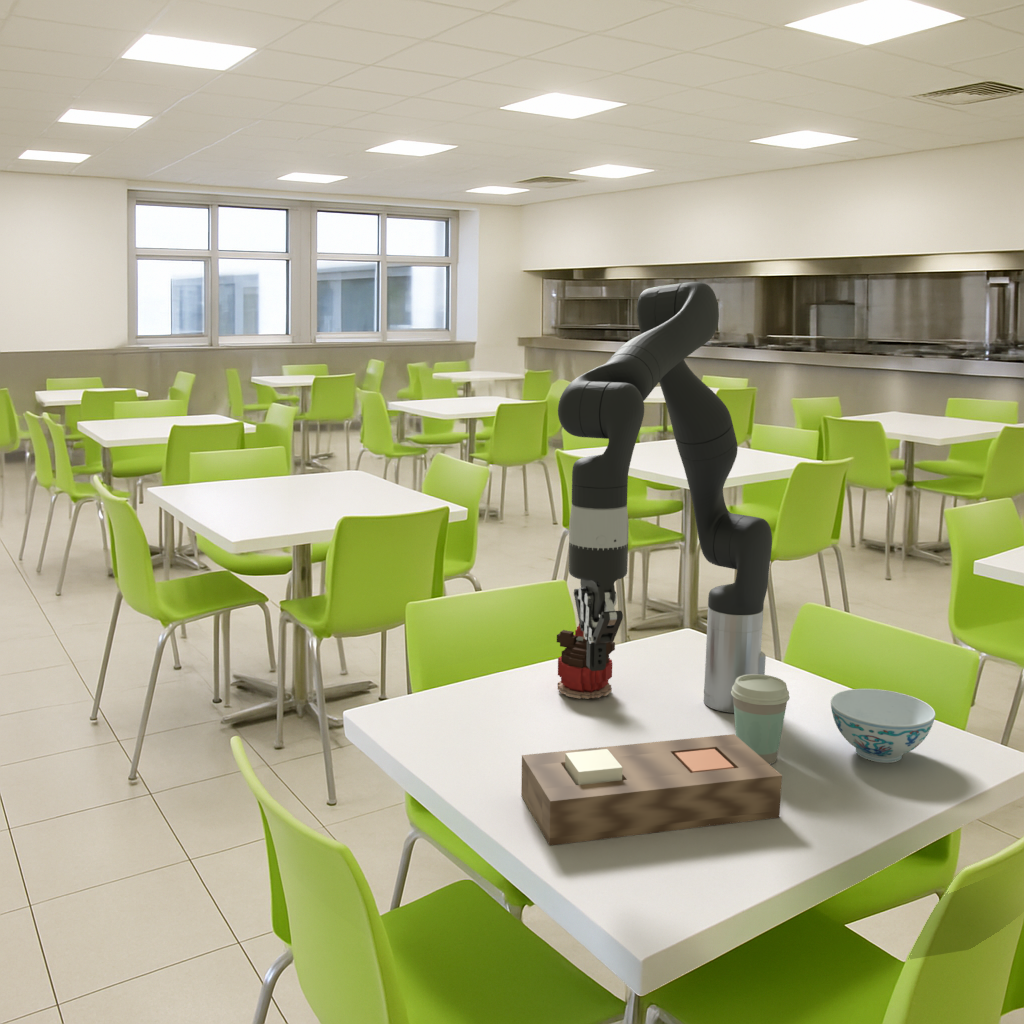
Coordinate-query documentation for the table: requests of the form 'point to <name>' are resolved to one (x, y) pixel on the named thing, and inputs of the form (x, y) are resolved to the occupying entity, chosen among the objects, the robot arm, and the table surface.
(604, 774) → the cream key
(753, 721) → the coffee cup
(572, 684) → the cake
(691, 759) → the terracotta key
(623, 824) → the block
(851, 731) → the chinaware
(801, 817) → the table surface
